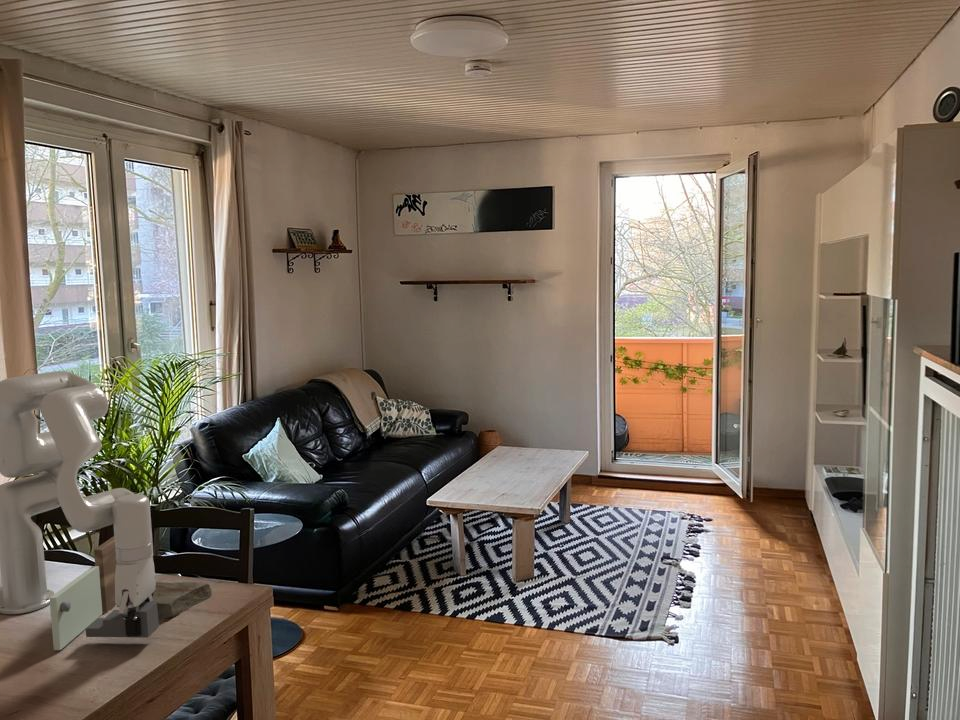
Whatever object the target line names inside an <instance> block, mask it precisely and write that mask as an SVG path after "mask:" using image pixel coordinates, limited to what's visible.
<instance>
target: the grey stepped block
mask: <svg viewBox="0 0 960 720" xmlns="http://www.w3.org/2000/svg"><path fill="white" fill-rule="evenodd" d="M129 605H133V602H129ZM129 611H132V612H133V613H134V608H129ZM138 618H140V621H141V635H140V636H126V628H125V620H124V619H123V617H122V615H120V614H119V609H113V610H112V611H111V612H110V613H109V614H107V616H106V617H98V618H97V619H96V620H95V621H94V622H92V623H91V624H90V625H89V626H88V627H87V628H85V629H84V630H85V638H147V639H148V638H150V637H151V636H152V634H154V632H156V631H157V629H158V628H159V627H160V626H159V619H158V610H157V602H142V603H141V604H140V605H139V614H138Z"/></svg>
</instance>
